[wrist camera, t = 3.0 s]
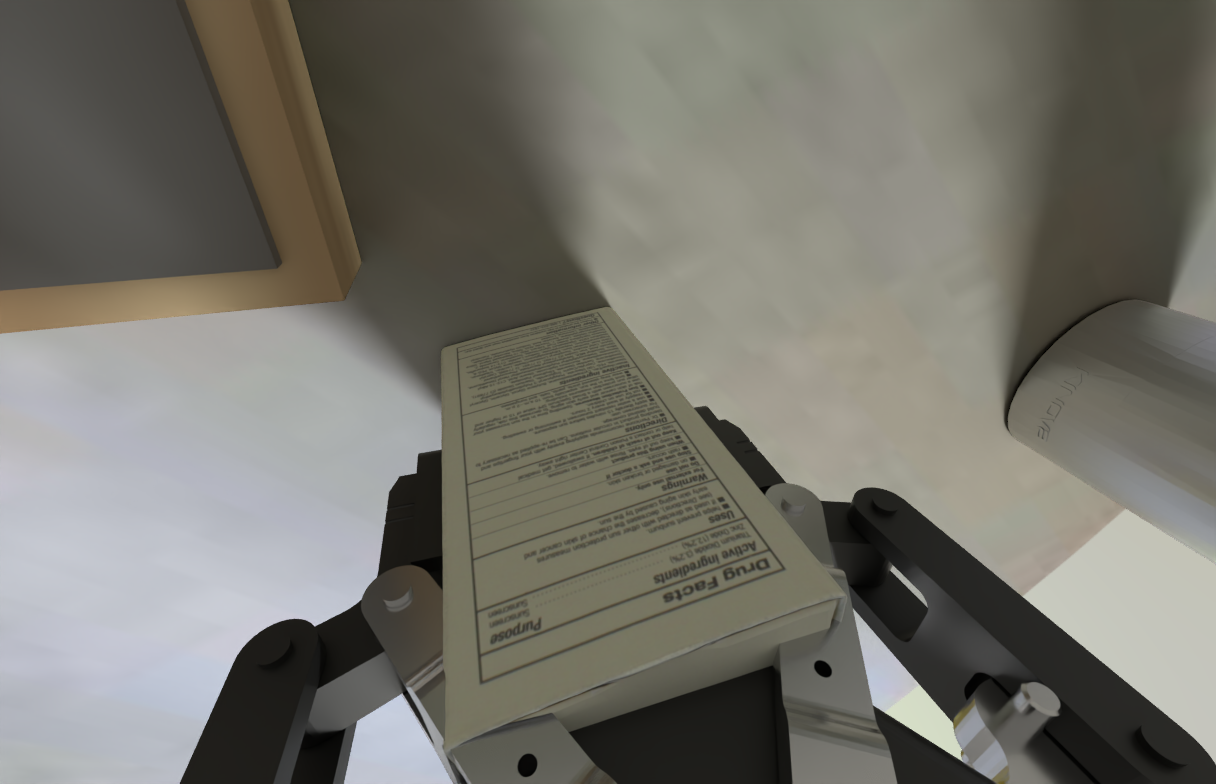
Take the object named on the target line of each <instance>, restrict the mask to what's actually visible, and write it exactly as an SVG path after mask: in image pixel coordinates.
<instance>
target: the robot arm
mask: <svg viewBox="0 0 1216 784" xmlns="http://www.w3.org/2000/svg"><path fill="white" fill-rule="evenodd" d="M694 409H695V410H696V411H697V413H698V414H699V415H700V416H701V418H702V419H703V420H704V421H705V423H706V424H707V425H708V426H709V428H710V429H711V430H712V431H713V432H714V433H715V435H716V436H717V437H718V439H719V440H720V441H721V442H722V444H723V445H724V446H725V447H726V449H727V450H728V451H729V452H730V454H731V455H732V456H733V457H734V458H735V460H736V461H737V462H738V463H739V464H740V466H741V467H742V468H743V469H744V471H745V472H746V473H747V474H748V476H749V477H750V478H751V479H752V481H753V482H754V483H755V484H756V486H757V487H758V488H759V489H760V490H761V492H762V493H763V494H764V495H765V496H766V498H767V499H768V500H769V501H770V502H771V504H772V505H773V506H774V507H775V509H776V510H777V511H778V512H779V513H780V515H781V516H782V517H783V518H784V519H785V520H786V522H787V523H788V524H789V525H790V527H791V528H792V529H793V530H794V532H795V533H796V534H797V535H798V537H799V538H800V539H801V540H802V542H803V543H804V544H805V545H806V546H807V548H808V549H809V550H810V551H811V553H812V554H813V555H814V556H815V557H816V559H817V560H818V561H819V562H820V563H821V565H822V566H823V567H824V568H825V569H826V570H827V572H828V573H829V574H830V575H831V576H832V578H833V579H834V580H835V581H836V582H837V584H838V585H839V586H840V587H841V588H842V590H843V591H844V592H845V594H846V595H847V602H846V605H845V610H844V615H843V619H842V622H839V621H837V620H835V619H832V620H831V624H830V627H829V628H828V629H825V630H822V631H819V632H815V633H812V634H809V635H806V636H803V637H800V638H796V639H793V640H790V641H787V642H784V643H780V644H779V646H778V649H777V652H776V655H775V658H774V661H773V665H772V666H769V667H766V668H763V669H760V670H757V671H754V672H751V673H748V674H745V675H742V676H739V677H736V678H733V679H730V680H727V681H724V682H721V683H718V684H715V685H712V686H708V687H705V688H702V689H699V690H696V691H692V692H689V693H686V694H683V695H680V696H677V697H674V698H671V699H668V700H665V701H662V702H659V703H656V704H653V705H650V706H647V707H644V708H640V709H637V710H634V711H631V712H628V713H625V714H622V715H619V716H616V717H613V718H610V719H607V720H604V721H601V722H598V723H595V724H592V725H589V726H586V727H583V728H580V729H577V730H574V731H571V732H568V731H567V730H566V729H565V728H564V726H563V725H562V724H561V723H560V722H559V720H558V719H557V718H556V717H555V716H554V714H553V713H548V714H544V715H540V716H536V717H532V718H528V719H524V720H520V721H515V722H511V723H507V724H505V725H502V726H500V727H497V728H495V729H492V730H490V731H487V732H485V733H483V734H481V735H479V736H476V737H474V738H472V739H470V740H467V741H465V742H463V743H462V744H460V745H458V746H457V747H455V748H453V749H450V751H451V754H452V757H453V759H454V761H455V764H456V766H457V767H458V769H459V771H460V772H461V773H460V772H459V771H458V769H457V768H456V766H455V764H454V763H453V762H452V761H451V760H450V759H449V758H448V757H447V756H446V755H445V754H444V749H443V740H444V741H445V722H446V712H445V687H446V677H445V672H444V667H443V549H442V450H437V451H431V452H425V453H419V454H418V463H417V473H416V474H411V475H405V476H400V477H399V478H398V480H397V481H396V483H395V484H394V486H393V487H392V489H391V490H390V492H389V498H388V505H387V510H388V511H387V513H386V520H385V522H386V524H385V527H384V534H383V542H382V549H381V556H380V563H379V571H378V576H377V578H376V579H375V580H374V581H373V582H372V583H371V584H370V585H369V586H368V588H367V589H366V591H365V593H364V595H363V597H362V600H361V601H359V602H358V603H357V604H356V605H354V606H353V607H351V608H350V609H348V610H346V611H345V612H343V613H341V614H339V615H337V616H335V617H333V618H331V619H329V620H327V621H325V622H323V623H321V624H319V625H317V626H315V627H314V626H313V625H312V624H311V623H310V622H308V621H306V620H302V619H289V620H285V621H281V622H278V623H276V624H273V625H271V626H269V627H267V628H266V629H264V630H262V631H261V632H259V633H258V634H257V635H256V636H254V637H253V638H252V639H251V640H250V641H249V642H248V643H247V644H246V645H245V646H244V647H243V648H242V650H241V651H240V652H239V654H238V655H237V657H236V659H235V661H234V663H233V665H232V668H231V670H230V672H229V674H228V677H227V679H226V681H225V683H224V686H223V688H222V690H221V692H220V695H219V697H218V699H217V701H216V703H215V706H214V708H213V710H212V712H211V715H210V717H209V719H208V721H207V724H206V726H205V728H204V730H203V733H202V735H201V737H200V739H199V742H198V744H197V746H196V748H195V750H194V753H193V755H192V757H191V759H190V762H189V764H188V766H187V768H186V771H185V773H184V775H183V777H182V780H181V782H180V784H344V780H345V775H346V770H347V766H348V761H349V756H350V752H351V747H352V742H353V738H354V733H355V728H356V723H357V721H358V720H359V719H361V718H363V717H364V716H366V715H368V714H369V713H371V712H373V711H374V710H376V709H377V708H379V707H381V706H382V705H384V704H386V703H387V702H389V701H390V700H392V699H394V698H395V697H397V696H399V695H400V694H402V696H403V698H404V699H405V701H406V703H407V704H408V706H409V708H410V709H411V711H412V713H413V714H414V716H415V718H416V719H417V721H418V723H419V724H420V726H421V728H422V729H423V731H424V733H425V734H426V736H427V738H428V739H429V741H430V743H431V744H432V746H433V748H434V749H435V751H436V753H437V755H438V756H439V758H440V760H441V762H442V764H443V765H444V767H445V769H446V771H447V773H448V775H449V777H450V778H451V780H452V782H453V784H1216V765H1215V763H1214V761H1213V760H1212V758H1211V757H1210V756H1209V754H1208V753H1207V752H1206V751H1205V749H1204V748H1203V747H1202V746H1201V745H1200V744H1199V743H1198V742H1197V741H1196V740H1195V739H1194V738H1193V737H1192V736H1191V735H1190V734H1188V733H1187V732H1186V731H1185V730H1184V729H1182V728H1181V727H1180V726H1179V725H1178V724H1177V723H1175V722H1174V721H1173V720H1172V719H1170V718H1169V717H1168V716H1167V715H1166V714H1164V713H1163V712H1162V711H1161V710H1159V709H1158V708H1157V707H1156V706H1155V705H1153V704H1152V703H1151V702H1150V701H1149V700H1147V699H1146V698H1145V697H1144V696H1142V695H1141V694H1140V693H1139V692H1137V691H1136V690H1135V689H1134V688H1133V687H1132V686H1130V685H1129V684H1128V683H1127V682H1125V681H1124V680H1123V679H1122V678H1121V677H1119V676H1118V675H1117V674H1116V673H1114V672H1113V671H1112V670H1111V669H1110V668H1108V667H1107V666H1106V665H1105V664H1104V663H1102V662H1101V661H1100V660H1099V659H1097V658H1096V657H1095V656H1094V655H1093V654H1091V653H1090V652H1089V651H1088V650H1086V649H1085V648H1084V647H1083V646H1082V645H1080V644H1079V643H1078V642H1077V641H1075V640H1074V639H1073V638H1072V637H1071V636H1069V635H1068V634H1067V633H1066V632H1065V631H1063V630H1062V629H1061V628H1059V627H1058V626H1057V625H1056V624H1055V623H1054V622H1052V621H1051V620H1050V619H1049V618H1047V617H1046V616H1045V615H1044V614H1043V613H1041V612H1040V611H1039V610H1038V609H1037V608H1035V607H1034V606H1033V605H1032V604H1030V603H1029V602H1028V601H1027V600H1026V599H1024V598H1023V597H1022V596H1021V595H1020V594H1018V593H1017V592H1016V591H1015V590H1013V589H1012V588H1011V587H1010V586H1009V585H1007V584H1006V583H1005V582H1004V581H1002V580H1001V579H1000V578H999V577H998V576H996V575H995V574H994V573H993V572H992V571H990V570H989V569H988V568H987V567H985V566H984V565H983V564H982V563H981V562H979V561H978V560H977V559H976V558H974V557H973V556H972V555H971V554H970V553H968V552H967V551H966V550H965V549H964V548H962V547H961V546H960V545H959V544H957V543H956V542H955V541H954V540H953V539H951V538H950V537H949V536H948V535H946V534H945V533H944V532H943V531H942V530H940V529H939V528H938V527H937V526H935V525H934V524H933V523H932V522H931V521H929V520H928V519H927V518H926V517H925V516H923V515H922V514H921V513H920V512H918V511H917V510H916V509H915V508H914V507H912V506H911V505H910V504H909V503H907V502H906V501H905V500H904V499H902V498H901V497H899V496H898V495H896V494H894V493H892V492H890V491H887V490H884V489H880V488H863V489H860V490H858V491H857V492H856V493H855V495H854V497H853V500H852V502H851V503H849V502H830V501H820V500H819V499H818V498H817V496H816V495H815V494H813V493H812V492H811V491H809V490H807V489H806V488H804V487H801V486H798V485H795V484H789V483H786V482H785V481H784V480H783V478H782V477H781V476H780V475H779V474H778V473H777V471H776V470H775V469H774V468H773V467H772V465H771V464H770V463H769V462H768V461H767V460H766V458H765V457H764V456H763V455H762V454H761V453H760V451H757V448H756V447H755V446H754V444H753V443H752V442H750V440H749V438H748V437H747V436H746V435H745V434H744V433H743V431H742V430H741V429H740V428H739V427H737V426H735V425H734V424H732V423H730V422H729V421H727V420H718V419H717V418H716V416H715V415H714V414H713V413H712V411H711V410H710V409H709V408H708V407H707V406H702V407H696V408H694ZM1008 428H1009V431H1010V433H1011V435H1012V436H1013V437H1014V438H1015V439H1016V440H1018V441H1019V442H1021V443H1023V444H1024V445H1026V446H1027V447H1029V448H1031V449H1032V450H1034V451H1035V452H1037V453H1039V454H1040V455H1042V456H1043V457H1045V458H1047V459H1048V460H1050V461H1051V462H1053V463H1055V464H1056V465H1058V466H1059V467H1061V468H1063V469H1064V470H1066V471H1067V472H1069V473H1071V474H1072V475H1074V476H1075V477H1077V478H1079V479H1080V480H1082V481H1083V482H1085V483H1086V484H1087V485H1089V486H1091V487H1092V488H1094V489H1095V490H1097V491H1099V492H1100V493H1102V494H1103V495H1105V496H1107V497H1108V498H1110V499H1111V500H1113V501H1115V502H1116V503H1118V504H1119V505H1121V506H1123V507H1124V508H1126V509H1128V510H1129V511H1131V512H1132V513H1134V514H1136V515H1137V516H1139V517H1140V518H1142V519H1144V520H1145V521H1147V522H1149V523H1150V524H1152V525H1153V526H1155V527H1157V528H1158V529H1160V530H1161V531H1163V532H1164V533H1166V534H1168V535H1169V536H1171V537H1172V538H1174V539H1176V540H1177V541H1179V542H1180V543H1182V544H1184V545H1185V546H1187V547H1188V548H1190V549H1192V550H1193V551H1195V552H1196V553H1198V554H1200V555H1201V556H1203V557H1204V558H1206V559H1208V560H1209V561H1211V562H1212V563H1214V564H1216V323H1214V322H1211V321H1208V320H1205V319H1202V318H1198V317H1195V316H1192V315H1189V314H1186V313H1182V312H1179V311H1176V310H1173V309H1170V308H1166V307H1163V306H1160V305H1157V304H1154V303H1150V302H1147V301H1142V300H1137V299H1134V300H1126V301H1121V302H1118V303H1115V304H1113V305H1110V306H1107V307H1105V308H1103V309H1101V310H1099V311H1097V312H1096V313H1094V314H1092V315H1090V316H1088V317H1087V318H1086V319H1084V320H1083V321H1081V322H1080V323H1078V324H1077V325H1075V326H1074V327H1073V328H1071V329H1070V330H1069V331H1068V332H1067V333H1066V334H1064V335H1063V336H1062V337H1061V338H1060V339H1058V340H1057V341H1056V342H1055V343H1054V344H1053V345H1052V346H1051V347H1050V348H1049V349H1048V350H1047V351H1046V352H1045V353H1044V354H1043V355H1042V357H1041V358H1040V359H1039V360H1038V361H1037V363H1036V364H1035V365H1034V366H1033V368H1032V369H1031V370H1030V371H1029V373H1028V374H1027V376H1026V377H1025V379H1024V380H1023V382H1022V384H1021V385H1020V387H1019V388H1018V390H1017V392H1016V395H1015V397H1014V399H1013V401H1012V403H1011V407H1010V411H1009V415H1008ZM892 565H893V566H894V567H895V568H896V569H898V570H899V571H900V572H901V573H902V574H903V575H904V576H905V577H906V578H907V579H908V580H909V581H910V582H911V583H912V584H913V585H914V586H915V587H916V588H917V589H918V590H919V591H920V592H921V593H922V595H923V596H924V598H925V600H926V602H927V605H928V608H927V607H926V606H925V605H924V604H923V603H922V602H921V601H920V600H919V599H918V598H917V597H916V596H915V595H914V594H913V593H912V592H911V591H910V590H909V589H908V588H907V587H906V586H905V585H904V584H903V583H902V582H901V581H900V580H899V579H898V578H897V577H896V576H895V575H894V574H893V573H892V572H891V571H890V569H891V567H892ZM853 608H854V610H855V611H856V612H857V613H858V614H859V615H860V617H861V618H862V619H863V620H864V621H865V622H866V623H867V625H868V626H869V627H870V628H871V629H872V630H873V632H874V633H875V634H876V635H877V636H878V637H879V638H880V640H881V641H882V642H883V643H884V644H885V645H886V646H887V648H888V649H889V650H890V651H891V652H892V653H893V655H894V656H895V657H896V658H897V659H898V660H899V661H900V663H901V664H902V665H903V666H904V667H905V668H906V669H907V671H908V672H909V673H910V674H911V675H912V676H913V678H914V679H915V680H916V681H917V682H918V683H919V684H920V686H921V687H922V688H923V689H924V690H925V691H926V692H927V693H928V695H929V696H930V697H931V698H932V699H933V701H934V702H935V703H936V704H937V705H938V706H939V707H940V709H941V710H942V711H943V712H944V713H945V714H946V715H947V717H948V718H949V719H950V720H951V721H952V722H953V725H954V732H955V736H956V739H957V741H958V743H959V745H960V747H961V749H962V751H961V757H962V760H963V762H962V761H961V760H959V759H957V758H956V757H954V756H953V755H951V754H949V753H948V752H946V751H945V750H943V749H941V748H940V747H938V746H937V745H935V744H934V743H932V742H930V741H929V740H927V739H926V738H924V737H922V736H920V735H919V734H918V733H916V732H914V731H913V730H911V729H910V728H908V727H906V726H905V725H903V724H902V723H900V722H898V721H897V720H895V719H894V718H892V717H891V716H889V715H887V714H886V713H884V712H883V711H881V710H880V709H878V708H876V707H875V706H873V704H872V699H871V695H870V690H869V685H868V680H867V675H866V670H865V666H864V661H863V656H862V651H861V646H860V641H859V636H858V632H857V627H856V622H855V617H854V612H853Z"/></svg>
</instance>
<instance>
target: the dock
mask: <svg viewBox="0 0 1216 784" xmlns="http://www.w3.org/2000/svg"><path fill="white" fill-rule="evenodd" d="M361 264H362V261H361V258H360V254H359V251H358V247H357V244H356V240H355V236H354V233H353V229H352V226H351V222H350V219H349V215H348V212H347V208H346V204H345V201H344V197H343V194H342V190H341V187H340V183H339V180H338V176H337V172H336V169H335V165H334V162H333V158H332V155H331V151H330V148H329V144H328V140H327V137H326V133H325V130H324V126H323V123H322V119H321V115H320V112H319V108H318V105H317V101H316V98H315V94H314V91H313V87H312V83H311V80H310V76H309V73H308V69H307V66H306V62H305V59H304V55H303V51H302V48H301V44H300V41H299V37H298V34H297V30H296V27H295V23H294V19H293V16H292V12H291V9H290V5H289V2H288V0H0V333H11V332H21V331H32V330H42V329H53V328H63V327H73V326H84V325H94V324H105V323H115V322H126V321H136V320H147V319H157V318H168V317H178V316H188V315H199V314H209V313H220V312H230V311H241V310H251V309H262V308H272V307H283V306H293V305H303V304H314V303H324V302H335V301H344V300H345V298H346V296H347V294H348V291H349V289H350V287H351V285H352V283H353V281H354V279H355V276H356V274H357V272H358V270H359V268H360V266H361Z"/></svg>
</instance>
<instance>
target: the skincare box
mask: <svg viewBox="0 0 1216 784" xmlns="http://www.w3.org/2000/svg"><path fill="white" fill-rule="evenodd" d="M441 400H442V549H443V667H444V672H445V677H446V687H445V712H446V722H445V741H444V740H443V749H444V754H445V755H446V756H447V757H448V758H449V759H450V760H451V761H452V762H453V763H454V764H455V761H454V759H453V757H452V754H451V751H450V749H453V748H455V747H457V746H458V745H460V744H462V743H463V742H465V741H467V740H470V739H472V738H474V737H476V736H479V735H481V734H483V733H485V732H487V731H490V730H492V729H495V728H497V727H500V726H502V725H505V724H507V723H511V722H515V721H520V720H524V719H528V718H532V717H536V716H540V715H544V714H548V713H553V714H554V716H555V717H556V718H557V719H558V720H559V722H560V723H561V724H562V725H563V726H564V728H565V729H566V730H567V731H568V732H571V731H574V730H577V729H580V728H583V727H586V726H589V725H592V724H595V723H598V722H601V721H604V720H607V719H610V718H613V717H616V716H619V715H622V714H625V713H628V712H631V711H634V710H637V709H640V708H644V707H647V706H650V705H653V704H656V703H659V702H662V701H665V700H668V699H671V698H674V697H677V696H680V695H683V694H686V693H689V692H692V691H696V690H699V689H702V688H705V687H708V686H712V685H715V684H718V683H721V682H724V681H727V680H730V679H733V678H736V677H739V676H742V675H745V674H748V673H751V672H754V671H757V670H760V669H763V668H766V667H769V666H772V665H773V661H774V658H775V655H776V652H777V649H778V646H779V644H780V643H784V642H787V641H790V640H793V639H796V638H800V637H803V636H806V635H809V634H812V633H815V632H819V631H822V630H825V629H828V628H829V627H830V624H831V620H832V619H835V620H837V621H839V622H842V619H843V615H844V610H845V605H846V602H847V595H846V594H845V592H844V591H843V590H842V588H841V587H840V586H839V585H838V584H837V582H836V581H835V580H834V579H833V578H832V576H831V575H830V574H829V573H828V572H827V570H826V569H825V568H824V567H823V566H822V565H821V563H820V562H819V561H818V560H817V559H816V557H815V556H814V555H813V554H812V553H811V551H810V550H809V549H808V548H807V546H806V545H805V544H804V543H803V542H802V540H801V539H800V538H799V537H798V535H797V534H796V533H795V532H794V530H793V529H792V528H791V527H790V525H789V524H788V523H787V522H786V520H785V519H784V518H783V517H782V516H781V515H780V513H779V512H778V511H777V510H776V509H775V507H774V506H773V505H772V504H771V502H770V501H769V500H768V499H767V498H766V496H765V495H764V494H763V493H762V492H761V490H760V489H759V488H758V487H757V486H756V484H755V483H754V482H753V481H752V479H751V478H750V477H749V476H748V474H747V473H746V472H745V471H744V469H743V468H742V467H741V466H740V464H739V463H738V462H737V461H736V460H735V458H734V457H733V456H732V455H731V454H730V452H729V451H728V450H727V449H726V447H725V446H724V445H723V444H722V442H721V441H720V440H719V439H718V437H717V436H716V435H715V433H714V432H713V431H712V430H711V429H710V428H709V426H708V425H707V424H706V423H705V421H704V420H703V419H702V418H701V416H700V415H699V414H698V413H697V411H696V410H695V409H694V408H693V407H692V405H691V404H690V403H689V402H688V401H687V399H686V398H685V397H684V396H683V394H682V393H681V392H680V391H679V389H678V388H677V387H676V386H675V384H674V383H673V382H672V381H671V380H670V378H669V377H668V376H667V375H666V374H665V372H664V371H663V370H662V369H661V367H660V366H659V365H658V364H657V362H656V361H655V360H654V359H653V357H652V356H651V355H650V354H649V352H648V351H647V350H646V349H645V348H644V346H643V345H642V344H641V343H640V342H639V340H638V339H637V338H636V337H635V336H634V334H633V333H632V332H631V331H630V329H629V328H628V327H627V326H626V325H625V323H624V322H623V321H622V320H621V318H620V317H619V316H618V315H617V313H616V312H615V311H614V310H613V309H612V308H610V307H603V308H599V309H594V310H590V311H586V312H581V313H577V314H572V315H568V316H564V317H560V318H555V319H551V320H547V321H543V322H540V323H535V324H531V325H527V326H523V327H519V328H515V329H511V330H507V331H503V332H499V333H495V334H491V335H487V336H483V337H479V338H476V339H472V340H469V341H465V342H462V343H458V344H454V345H451V346H448V347H445V348H443V349H442V351H441ZM455 766H456V764H455ZM456 768H457V769H458V767H457V766H456ZM458 771H459V769H458ZM459 772H460V771H459ZM460 773H461V772H460Z"/></svg>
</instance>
